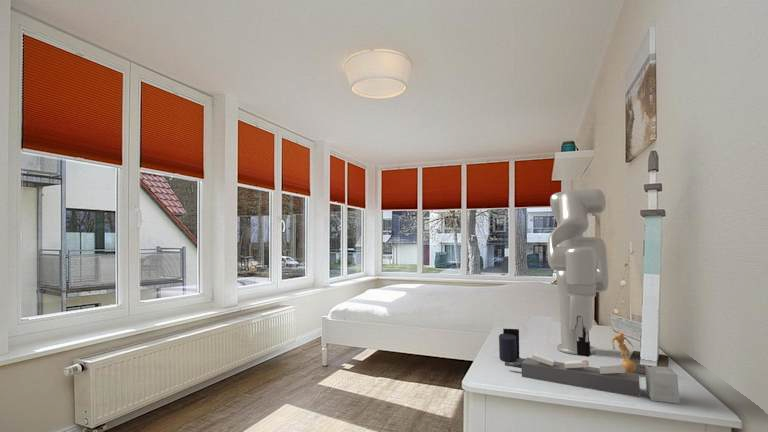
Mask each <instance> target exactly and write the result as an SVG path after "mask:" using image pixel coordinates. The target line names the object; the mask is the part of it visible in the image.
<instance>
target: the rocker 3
mask: <svg viewBox="0 0 768 432" xmlns="http://www.w3.org/2000/svg"><path fill="white" fill-rule="evenodd" d="M599 368H600V369H599V370H600V374H605V373H625V371H626V369H625V366H624V365H621V364H620V365H603V366H599Z"/></svg>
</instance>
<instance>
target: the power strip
mask: <svg viewBox="0 0 768 432" xmlns="http://www.w3.org/2000/svg"><path fill="white" fill-rule="evenodd" d="M564 363H565V362H561V361H560V362H559V361H555V364H554V365H553V366H551V365H548V364H545V363H542V362H539V361H537V360H534V359H532V357H526V358H525V359H524V360H522V362H521V363H515V362H506V361H504V366H505V367H506V366H507V367H512V368H518V369H521V377H523V378H527V379H529V378H530V379H534V380H538V381H539V380H540V381H546V382H550V383H557V384H563V385H569V386H574V387H580V388H585V389H591V390H596V391H602V392H607V393H608V392H609V393H614V394H618V395H625V396H630V397H635V398H636V397H637V398H640V392H641V390H640V389H641V387H640V385H641V384H640V373H635V372H634V373H628V372H625V373H605V374H600V370H599V369H600V367H593V366H588V367H580V368H565V366H564Z"/></svg>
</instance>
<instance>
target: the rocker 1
mask: <svg viewBox="0 0 768 432" xmlns="http://www.w3.org/2000/svg"><path fill="white" fill-rule="evenodd" d="M531 358H532V359H534V360H537V361H539V362H542V363H545V364H548V365H551V366H553V365H554V364H555V362H556V359H554V358H551V357H548V356H545V355H542V354H540V353H537V352H533V354H532V356H531Z"/></svg>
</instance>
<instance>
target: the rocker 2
mask: <svg viewBox="0 0 768 432" xmlns="http://www.w3.org/2000/svg"><path fill="white" fill-rule="evenodd" d="M563 363H564V366H565V368H580V367H589V365H590V362H589V359H587V360H586V359H584V360H568V361H567V360H566V361H564V362H563Z"/></svg>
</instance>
